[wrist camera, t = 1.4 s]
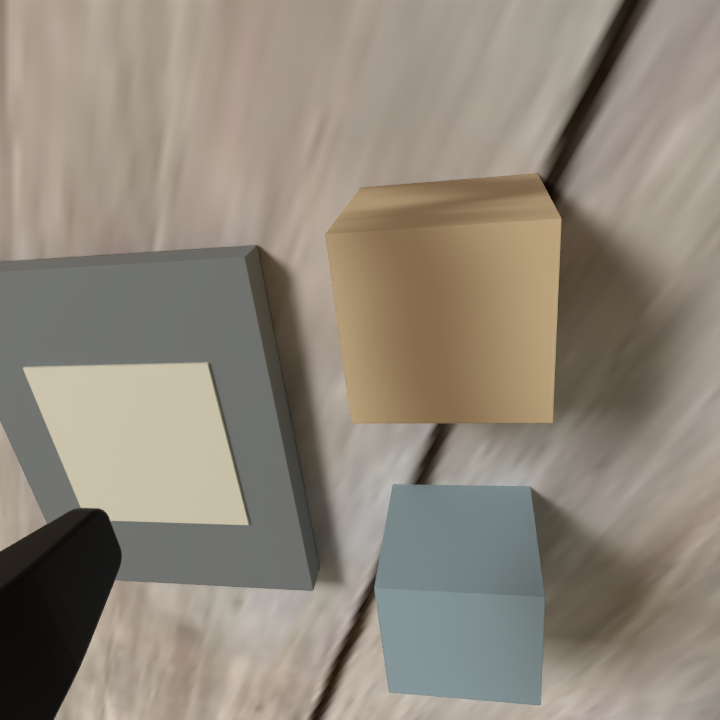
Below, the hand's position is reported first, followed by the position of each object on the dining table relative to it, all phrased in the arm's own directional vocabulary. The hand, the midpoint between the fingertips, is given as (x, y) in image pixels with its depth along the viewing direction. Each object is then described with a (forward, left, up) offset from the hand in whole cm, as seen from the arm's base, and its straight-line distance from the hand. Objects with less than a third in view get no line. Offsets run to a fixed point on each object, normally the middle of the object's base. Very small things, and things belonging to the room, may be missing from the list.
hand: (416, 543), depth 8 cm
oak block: (0, 0, -12) cm, 12 cm away
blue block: (0, +11, -12) cm, 16 cm away
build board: (+11, +6, -12) cm, 17 cm away
